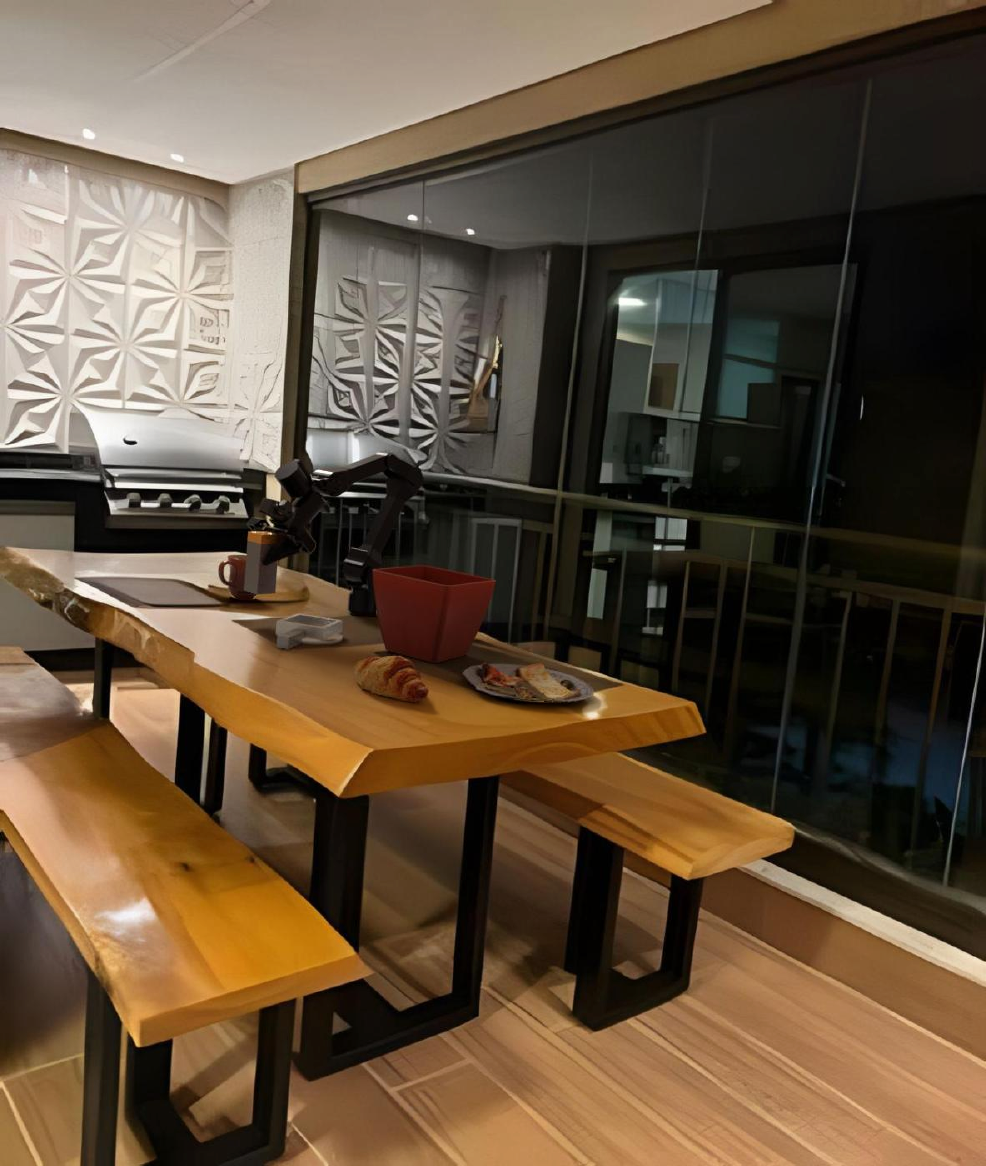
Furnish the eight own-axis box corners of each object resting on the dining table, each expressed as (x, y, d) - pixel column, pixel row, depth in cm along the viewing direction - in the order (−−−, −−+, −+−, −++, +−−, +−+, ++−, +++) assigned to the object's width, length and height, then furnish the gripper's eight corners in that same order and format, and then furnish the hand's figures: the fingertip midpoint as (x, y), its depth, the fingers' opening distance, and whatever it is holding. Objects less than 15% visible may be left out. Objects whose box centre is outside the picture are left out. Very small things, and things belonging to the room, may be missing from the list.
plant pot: (489, 657, 206) (498, 579, 204) (439, 670, 190) (448, 585, 187) (416, 639, 216) (423, 564, 213) (362, 650, 199) (370, 569, 197)
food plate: (449, 670, 190) (451, 652, 190) (559, 675, 198) (561, 658, 197) (486, 711, 167) (489, 691, 166) (609, 715, 174) (612, 696, 174)
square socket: (292, 626, 214) (293, 610, 214) (351, 636, 211) (353, 620, 211) (249, 643, 194) (250, 626, 194) (315, 653, 191) (316, 636, 191)
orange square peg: (262, 589, 216) (266, 531, 215) (275, 593, 213) (279, 534, 212) (243, 590, 213) (248, 531, 211) (257, 594, 210) (261, 534, 208)
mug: (245, 594, 246) (248, 554, 245) (268, 600, 241) (271, 559, 239) (206, 597, 236) (209, 555, 235) (228, 603, 231) (232, 561, 230)
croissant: (342, 695, 178) (327, 658, 174) (384, 666, 183) (370, 630, 179) (410, 726, 162) (396, 687, 158) (454, 694, 167) (441, 655, 164)
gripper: (256, 481, 219) (211, 530, 212) (309, 491, 207) (263, 543, 200) (282, 516, 226) (239, 564, 219) (335, 528, 214) (290, 579, 207)
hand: (256, 562), depth 211 cm, fingers closed on orange square peg, 5 cm apart
